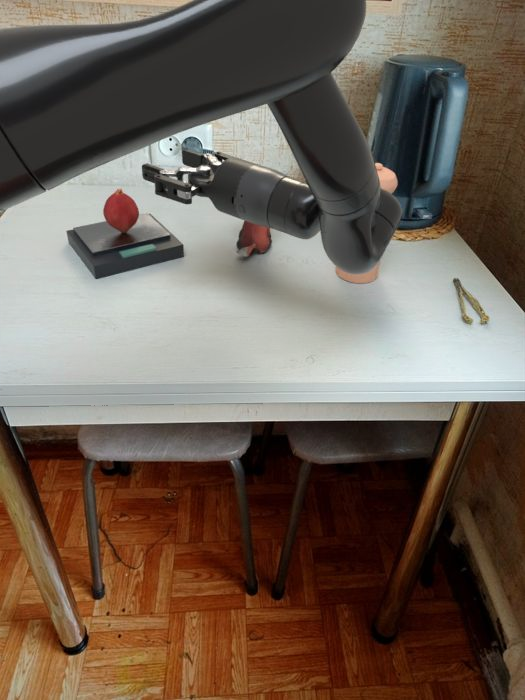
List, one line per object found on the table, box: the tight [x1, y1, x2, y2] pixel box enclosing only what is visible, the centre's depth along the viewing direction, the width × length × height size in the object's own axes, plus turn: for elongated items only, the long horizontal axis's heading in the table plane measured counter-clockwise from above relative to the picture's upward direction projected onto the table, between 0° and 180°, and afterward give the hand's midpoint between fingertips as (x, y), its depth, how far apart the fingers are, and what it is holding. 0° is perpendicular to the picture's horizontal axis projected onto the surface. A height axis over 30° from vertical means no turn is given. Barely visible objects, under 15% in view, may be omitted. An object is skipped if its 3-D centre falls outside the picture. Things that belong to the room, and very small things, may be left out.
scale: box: [66, 212, 185, 280], centre depth 90 cm, size 16×14×3 cm
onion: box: [102, 187, 140, 233], centre depth 87 cm, size 6×6×8 cm
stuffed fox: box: [235, 220, 273, 258], centre depth 90 cm, size 8×11×12 cm
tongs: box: [452, 277, 490, 325], centre depth 84 cm, size 4×13×2 cm, turn 4°
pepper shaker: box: [335, 162, 399, 284], centre depth 84 cm, size 7×7×19 cm
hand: (164, 163), depth 75 cm, fingers open, 8 cm apart
